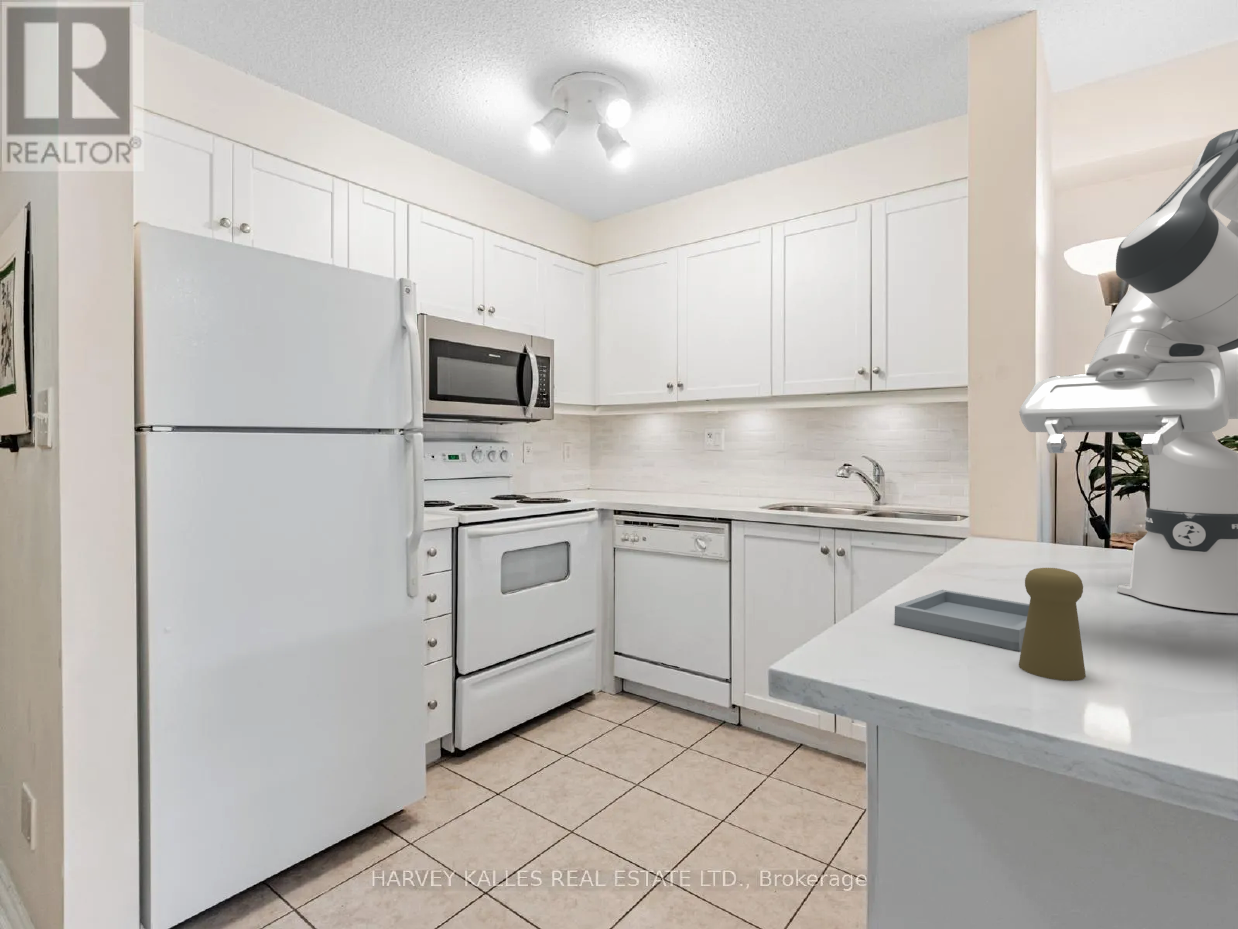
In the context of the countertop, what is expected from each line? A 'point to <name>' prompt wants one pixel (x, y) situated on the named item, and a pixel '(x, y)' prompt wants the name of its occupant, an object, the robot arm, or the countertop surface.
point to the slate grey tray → (966, 617)
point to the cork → (1053, 625)
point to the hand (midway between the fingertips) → (1099, 450)
